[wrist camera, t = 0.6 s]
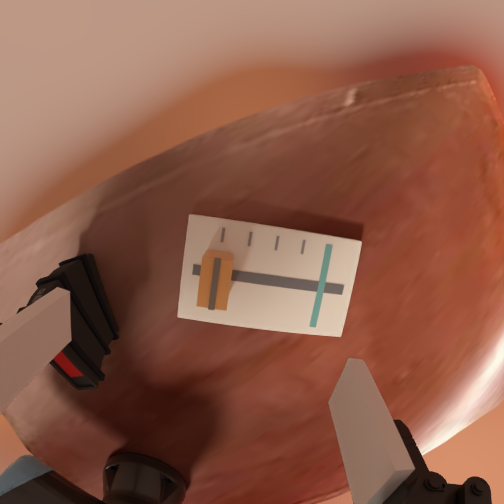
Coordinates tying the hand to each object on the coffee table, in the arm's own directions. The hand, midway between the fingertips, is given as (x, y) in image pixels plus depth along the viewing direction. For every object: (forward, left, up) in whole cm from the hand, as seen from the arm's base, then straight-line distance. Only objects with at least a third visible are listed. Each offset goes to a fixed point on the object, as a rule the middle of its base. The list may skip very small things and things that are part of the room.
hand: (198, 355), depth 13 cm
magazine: (-8, +15, -24) cm, 30 cm away
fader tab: (-1, 0, -22) cm, 22 cm away
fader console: (-1, -6, -24) cm, 25 cm away
